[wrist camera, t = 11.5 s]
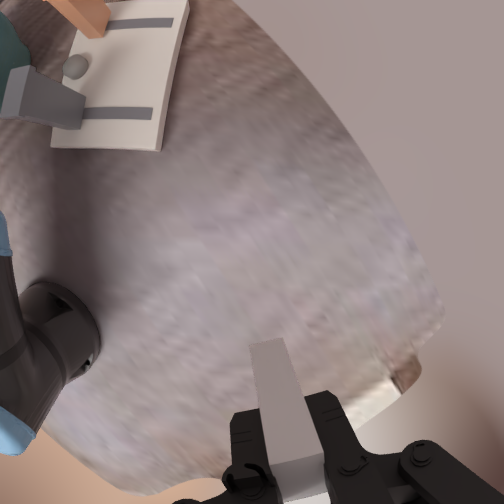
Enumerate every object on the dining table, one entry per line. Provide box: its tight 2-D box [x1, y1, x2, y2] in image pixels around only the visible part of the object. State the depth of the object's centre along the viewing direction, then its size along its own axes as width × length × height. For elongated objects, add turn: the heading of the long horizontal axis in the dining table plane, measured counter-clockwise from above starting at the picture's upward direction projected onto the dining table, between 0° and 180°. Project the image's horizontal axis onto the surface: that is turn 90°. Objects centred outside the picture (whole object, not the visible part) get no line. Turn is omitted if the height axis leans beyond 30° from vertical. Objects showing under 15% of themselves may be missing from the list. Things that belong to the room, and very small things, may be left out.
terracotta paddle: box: [42, 0, 111, 39], centre depth 19 cm, size 2×4×12 cm, turn 172°
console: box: [50, 0, 190, 152], centre depth 28 cm, size 14×20×4 cm
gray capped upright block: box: [0, 65, 86, 130], centre depth 21 cm, size 2×4×12 cm, turn 172°
